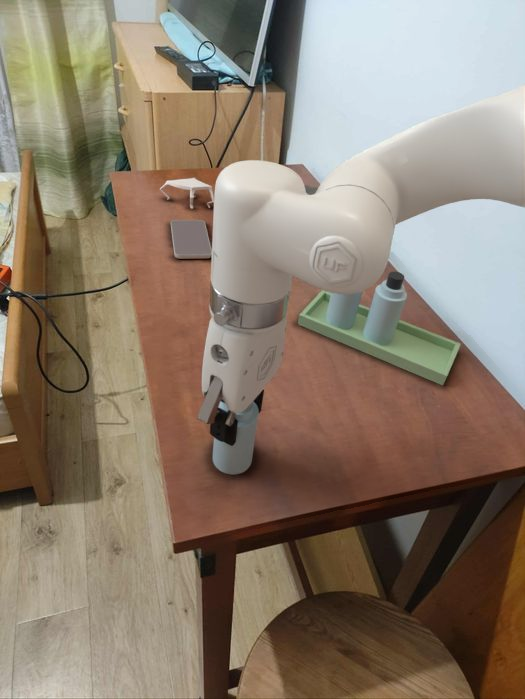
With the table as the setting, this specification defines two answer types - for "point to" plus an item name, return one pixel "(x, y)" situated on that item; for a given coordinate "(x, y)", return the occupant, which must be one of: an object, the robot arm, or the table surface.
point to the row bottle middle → (385, 309)
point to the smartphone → (190, 239)
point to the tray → (403, 351)
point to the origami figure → (189, 188)
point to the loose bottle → (237, 443)
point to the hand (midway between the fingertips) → (236, 422)
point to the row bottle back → (343, 309)
